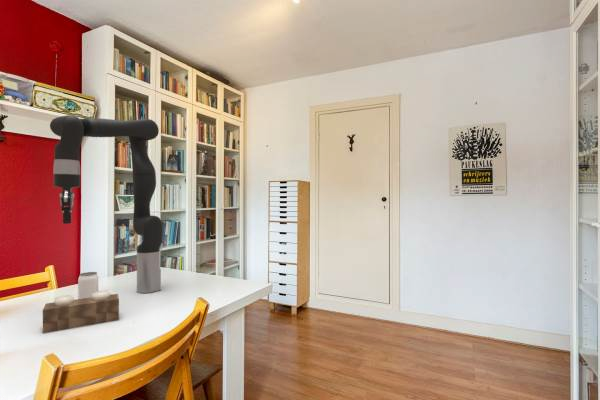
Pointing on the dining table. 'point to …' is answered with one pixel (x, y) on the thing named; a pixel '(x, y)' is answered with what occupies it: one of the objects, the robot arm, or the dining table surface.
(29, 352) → the dining table surface
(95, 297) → the knob
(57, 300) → the knob
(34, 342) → the dining table surface
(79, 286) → the can
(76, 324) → the mount
